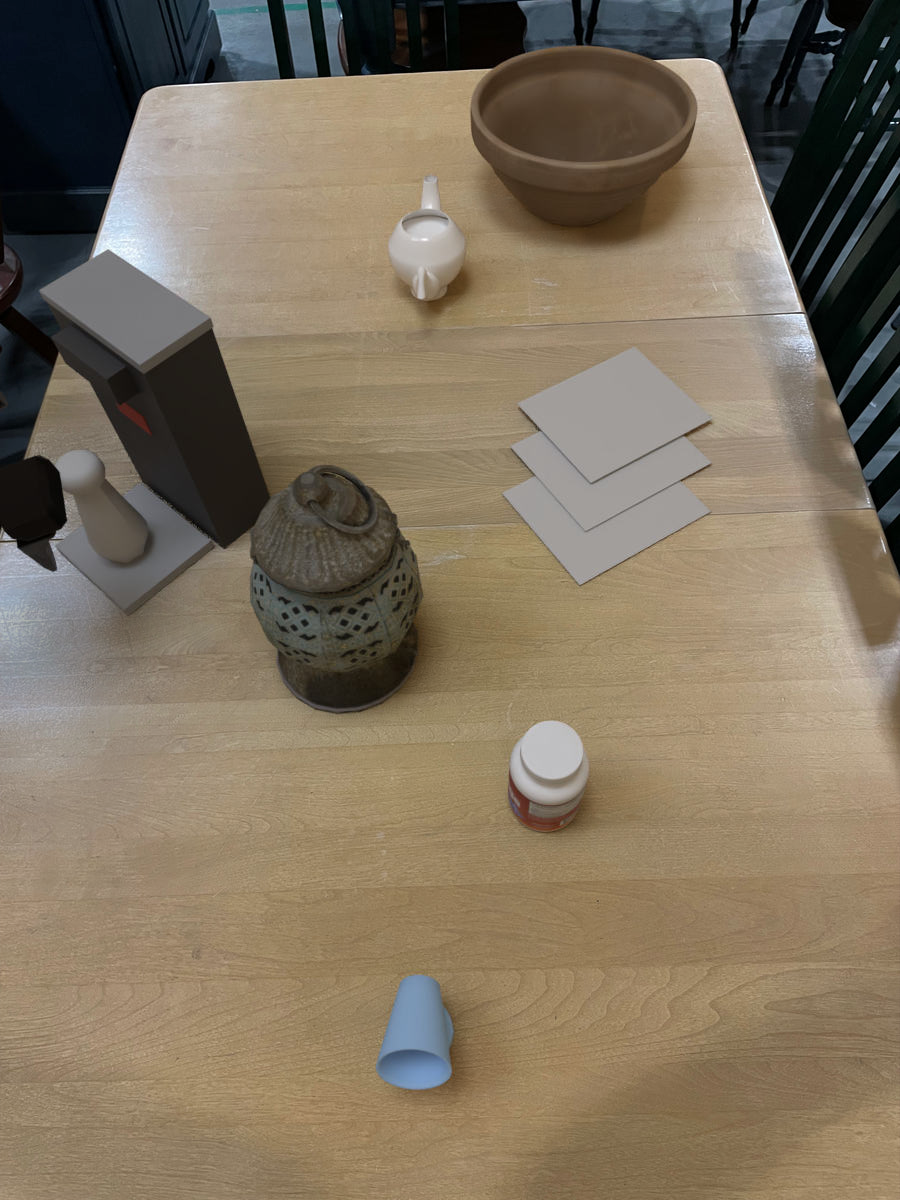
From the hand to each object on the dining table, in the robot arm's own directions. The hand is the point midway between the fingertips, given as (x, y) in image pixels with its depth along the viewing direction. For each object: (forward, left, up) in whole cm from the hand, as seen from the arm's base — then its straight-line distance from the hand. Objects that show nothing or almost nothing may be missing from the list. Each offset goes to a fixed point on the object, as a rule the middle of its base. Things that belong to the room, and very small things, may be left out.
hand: (1, 585), depth 71 cm
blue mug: (+17, -45, -13) cm, 50 cm away
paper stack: (+59, -3, -13) cm, 60 cm away
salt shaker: (+9, +9, -12) cm, 17 cm away
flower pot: (+80, +40, -13) cm, 90 cm away
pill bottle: (+34, -33, -13) cm, 49 cm away
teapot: (+54, +32, -13) cm, 64 cm away
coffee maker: (+13, +11, -13) cm, 21 cm away
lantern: (+25, -12, -13) cm, 31 cm away
